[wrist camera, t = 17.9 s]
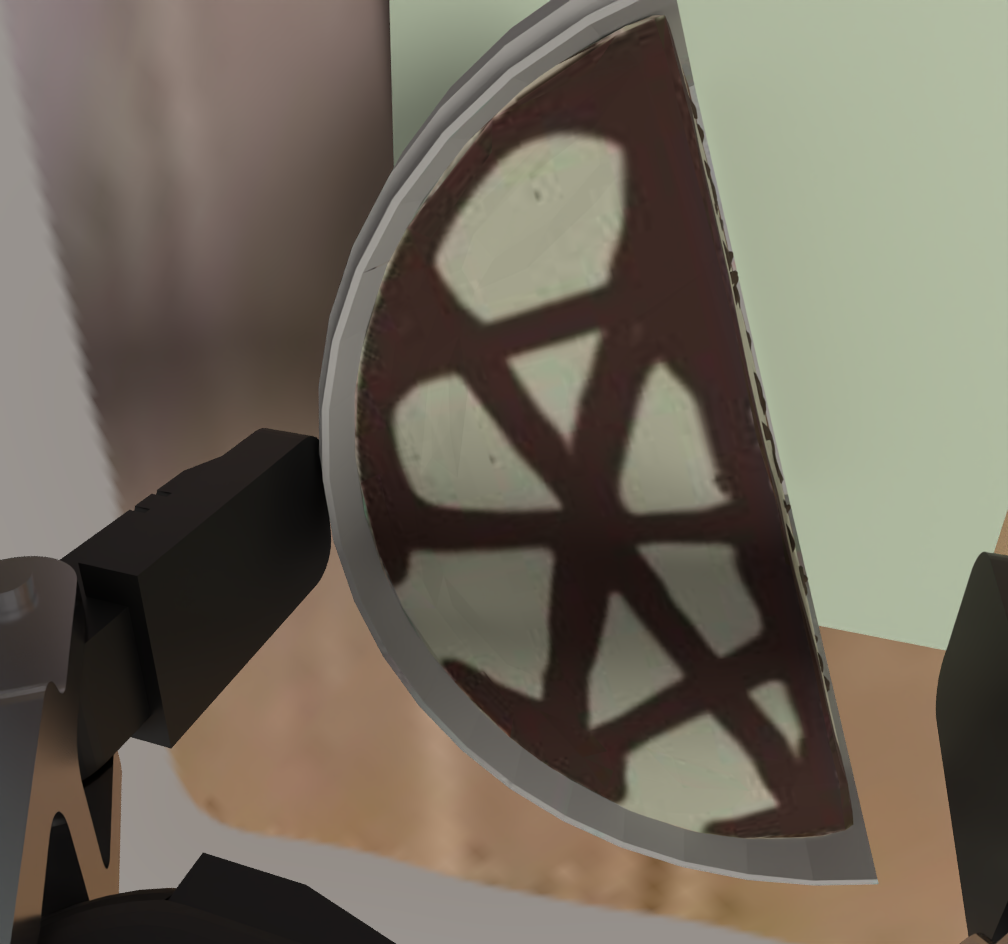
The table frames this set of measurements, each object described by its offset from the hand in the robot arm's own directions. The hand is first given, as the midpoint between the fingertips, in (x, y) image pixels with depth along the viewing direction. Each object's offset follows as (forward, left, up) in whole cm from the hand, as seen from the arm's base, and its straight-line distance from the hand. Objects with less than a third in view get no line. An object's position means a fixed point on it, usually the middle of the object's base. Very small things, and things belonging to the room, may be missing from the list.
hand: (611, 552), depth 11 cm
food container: (+2, +1, -10) cm, 10 cm away
